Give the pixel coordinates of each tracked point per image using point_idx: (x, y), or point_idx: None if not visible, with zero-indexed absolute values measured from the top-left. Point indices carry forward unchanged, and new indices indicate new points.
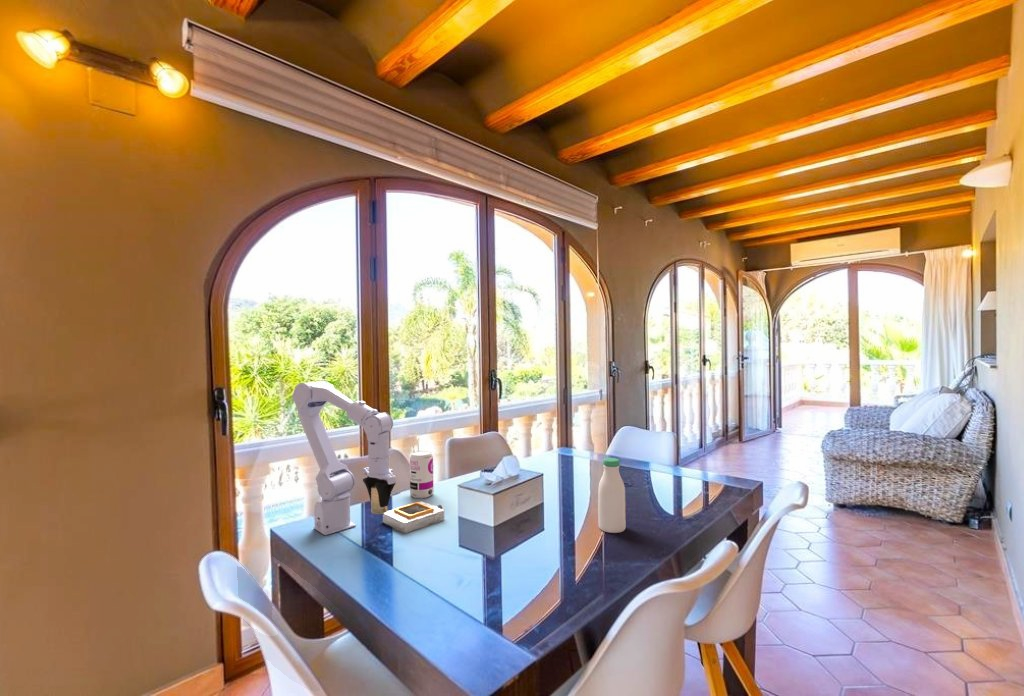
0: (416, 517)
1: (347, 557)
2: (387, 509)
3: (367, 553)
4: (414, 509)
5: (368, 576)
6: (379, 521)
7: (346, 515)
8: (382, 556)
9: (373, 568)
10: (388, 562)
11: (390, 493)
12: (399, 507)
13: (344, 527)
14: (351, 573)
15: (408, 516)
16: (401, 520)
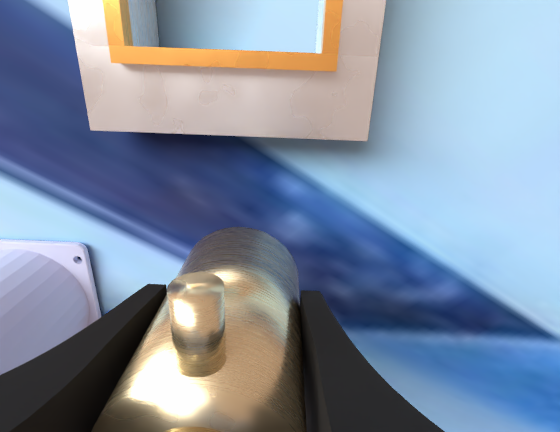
0: (355, 15)
1: None
2: (282, 250)
3: (388, 340)
4: None
5: (530, 409)
6: None
7: (45, 320)
8: (460, 322)
9: (503, 380)
10: (520, 333)
11: (368, 365)
12: (105, 2)
13: (85, 295)
14: (464, 426)
15: (322, 70)
16: (314, 129)
